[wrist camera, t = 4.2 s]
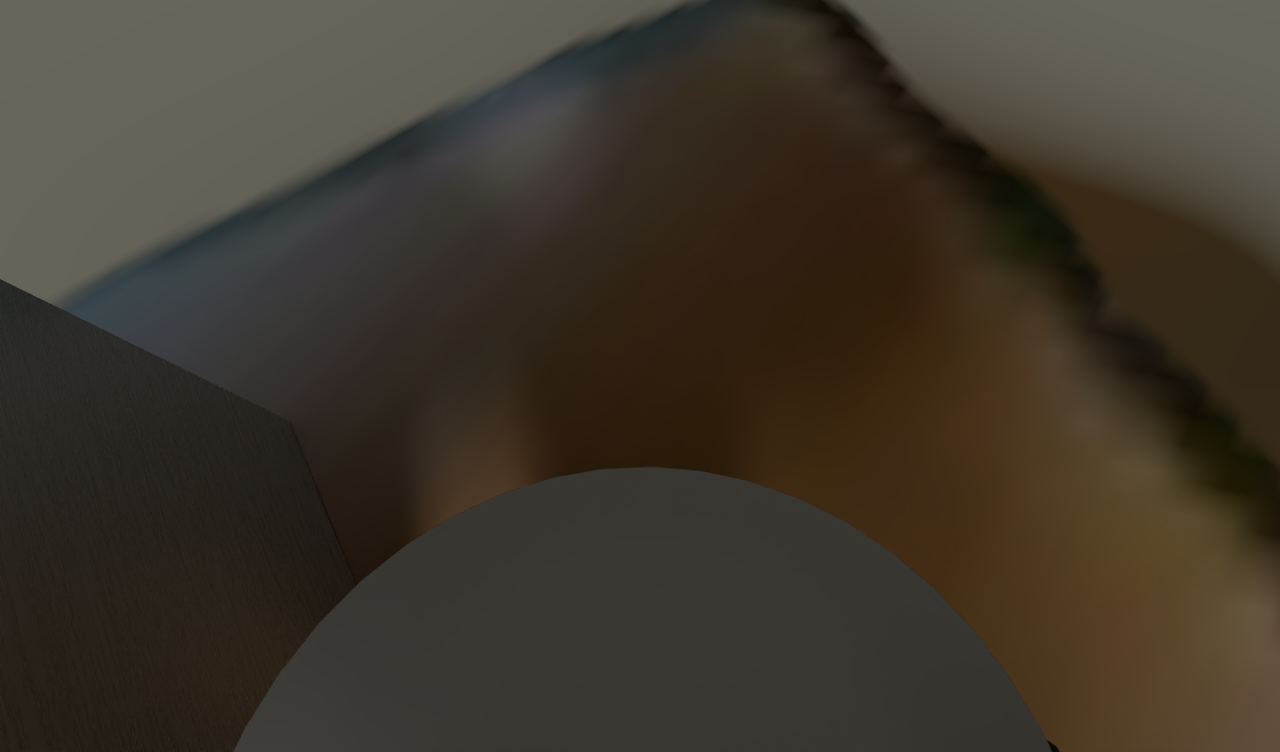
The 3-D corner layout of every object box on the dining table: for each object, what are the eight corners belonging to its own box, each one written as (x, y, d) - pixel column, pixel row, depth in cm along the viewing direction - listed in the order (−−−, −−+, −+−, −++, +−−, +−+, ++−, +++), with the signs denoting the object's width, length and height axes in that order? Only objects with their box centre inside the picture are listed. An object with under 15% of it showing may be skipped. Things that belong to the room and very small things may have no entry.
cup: (803, 731, 15) (1336, 1165, 4) (579, 879, 14) (386, 2069, 3) (676, 508, 17) (783, 338, 5) (466, 627, 16) (46, 734, 4)
